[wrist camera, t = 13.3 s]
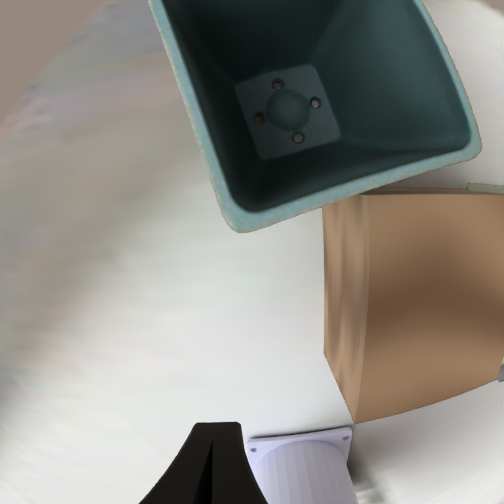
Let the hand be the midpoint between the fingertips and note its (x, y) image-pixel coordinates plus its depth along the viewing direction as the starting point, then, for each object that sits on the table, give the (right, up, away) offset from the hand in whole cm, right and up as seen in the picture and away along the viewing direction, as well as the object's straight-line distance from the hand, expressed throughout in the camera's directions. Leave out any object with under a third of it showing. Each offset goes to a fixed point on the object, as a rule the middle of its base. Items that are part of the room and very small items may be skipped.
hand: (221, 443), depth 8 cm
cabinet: (+10, +5, +9) cm, 14 cm away
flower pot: (+3, +14, +8) cm, 16 cm away
